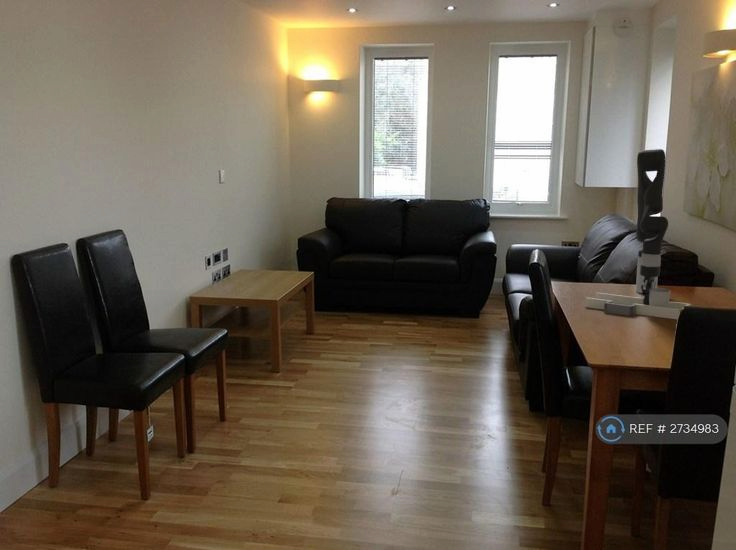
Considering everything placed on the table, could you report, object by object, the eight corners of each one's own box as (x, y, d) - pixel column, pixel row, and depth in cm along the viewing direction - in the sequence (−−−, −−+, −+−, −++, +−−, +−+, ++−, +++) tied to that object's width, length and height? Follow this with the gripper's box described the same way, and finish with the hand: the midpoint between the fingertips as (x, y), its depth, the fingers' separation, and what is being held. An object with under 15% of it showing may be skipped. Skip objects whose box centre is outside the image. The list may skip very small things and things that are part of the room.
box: (600, 299, 294) (601, 290, 294) (693, 310, 271) (693, 301, 270) (580, 309, 275) (581, 300, 275) (678, 322, 252) (679, 312, 251)
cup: (670, 313, 267) (673, 289, 265) (665, 317, 261) (668, 293, 259) (649, 309, 272) (652, 286, 270) (644, 313, 266) (646, 290, 264)
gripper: (645, 261, 274) (642, 301, 277) (636, 265, 264) (632, 306, 267) (664, 263, 270) (660, 303, 273) (655, 267, 259) (651, 309, 263)
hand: (646, 305), depth 270 cm, fingers closed
